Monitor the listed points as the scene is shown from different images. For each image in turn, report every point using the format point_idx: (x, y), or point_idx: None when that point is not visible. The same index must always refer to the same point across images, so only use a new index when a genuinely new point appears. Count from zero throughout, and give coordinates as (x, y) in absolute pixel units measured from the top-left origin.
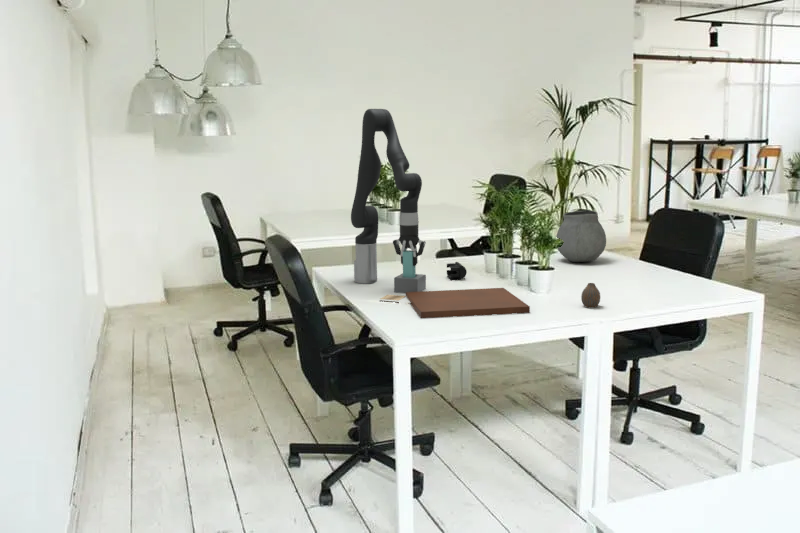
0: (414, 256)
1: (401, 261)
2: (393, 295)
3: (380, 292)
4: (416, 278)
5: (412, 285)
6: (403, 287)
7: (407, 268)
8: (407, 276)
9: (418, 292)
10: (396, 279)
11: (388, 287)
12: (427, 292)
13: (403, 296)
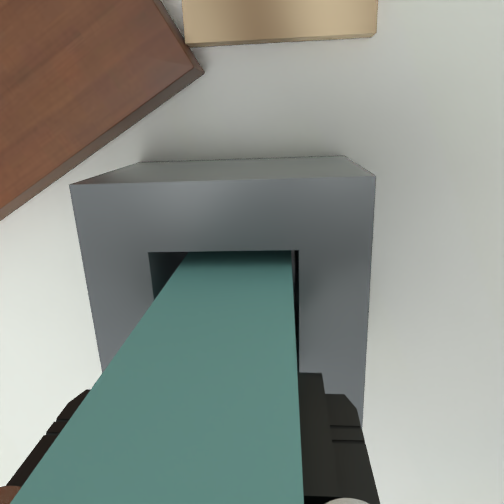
0: (7, 497)
1: (348, 423)
2: (305, 18)
3: (490, 196)
4: (101, 223)
5: (155, 172)
6: (256, 166)
7: (218, 315)
8: (233, 270)
9: (78, 99)
10: (340, 174)
11: (475, 377)
12: (9, 131)
13: (199, 14)
